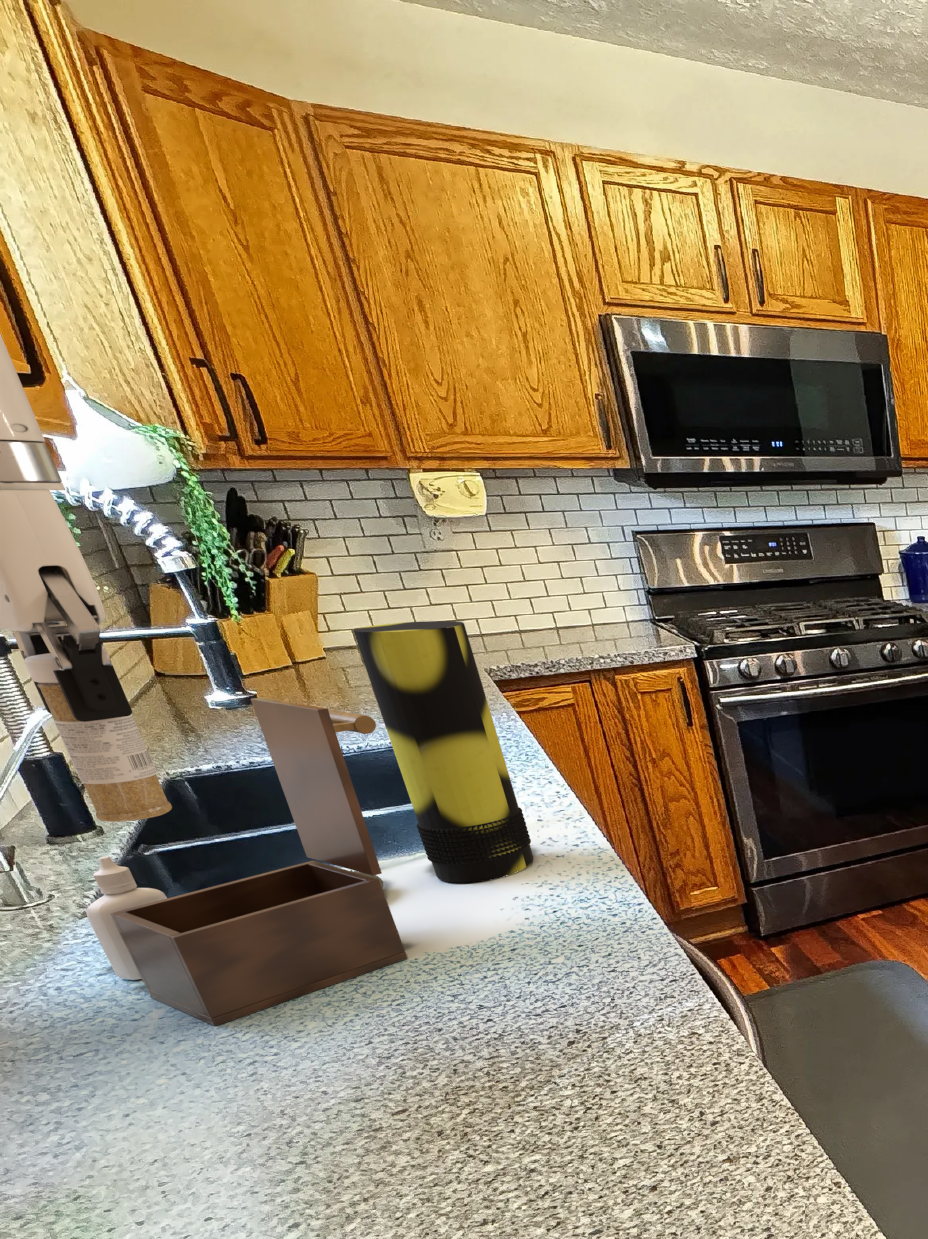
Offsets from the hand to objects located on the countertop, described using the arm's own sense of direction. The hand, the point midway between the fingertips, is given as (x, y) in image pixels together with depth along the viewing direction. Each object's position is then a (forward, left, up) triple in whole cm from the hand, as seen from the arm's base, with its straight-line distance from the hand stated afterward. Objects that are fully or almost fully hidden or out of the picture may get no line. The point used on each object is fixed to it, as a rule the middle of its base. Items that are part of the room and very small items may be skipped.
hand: (90, 712), depth 80 cm
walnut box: (+6, +4, -28) cm, 29 cm away
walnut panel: (+14, +4, -10) cm, 18 cm away
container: (+33, +18, -28) cm, 47 cm away
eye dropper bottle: (+2, +18, -28) cm, 34 cm away
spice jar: (0, 0, -9) cm, 9 cm away
